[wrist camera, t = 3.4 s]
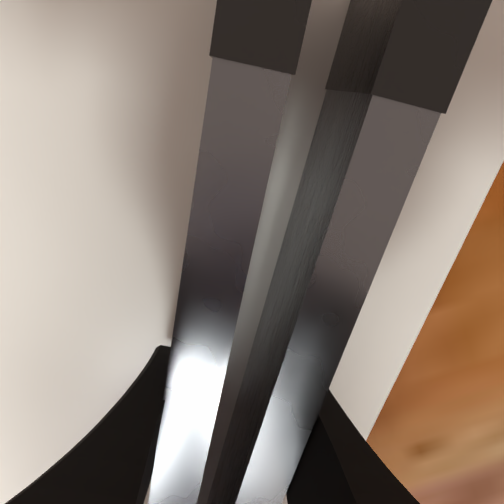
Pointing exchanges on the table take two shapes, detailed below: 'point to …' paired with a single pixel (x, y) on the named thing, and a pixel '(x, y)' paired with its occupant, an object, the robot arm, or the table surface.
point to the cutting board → (182, 212)
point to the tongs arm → (223, 225)
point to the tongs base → (341, 225)
